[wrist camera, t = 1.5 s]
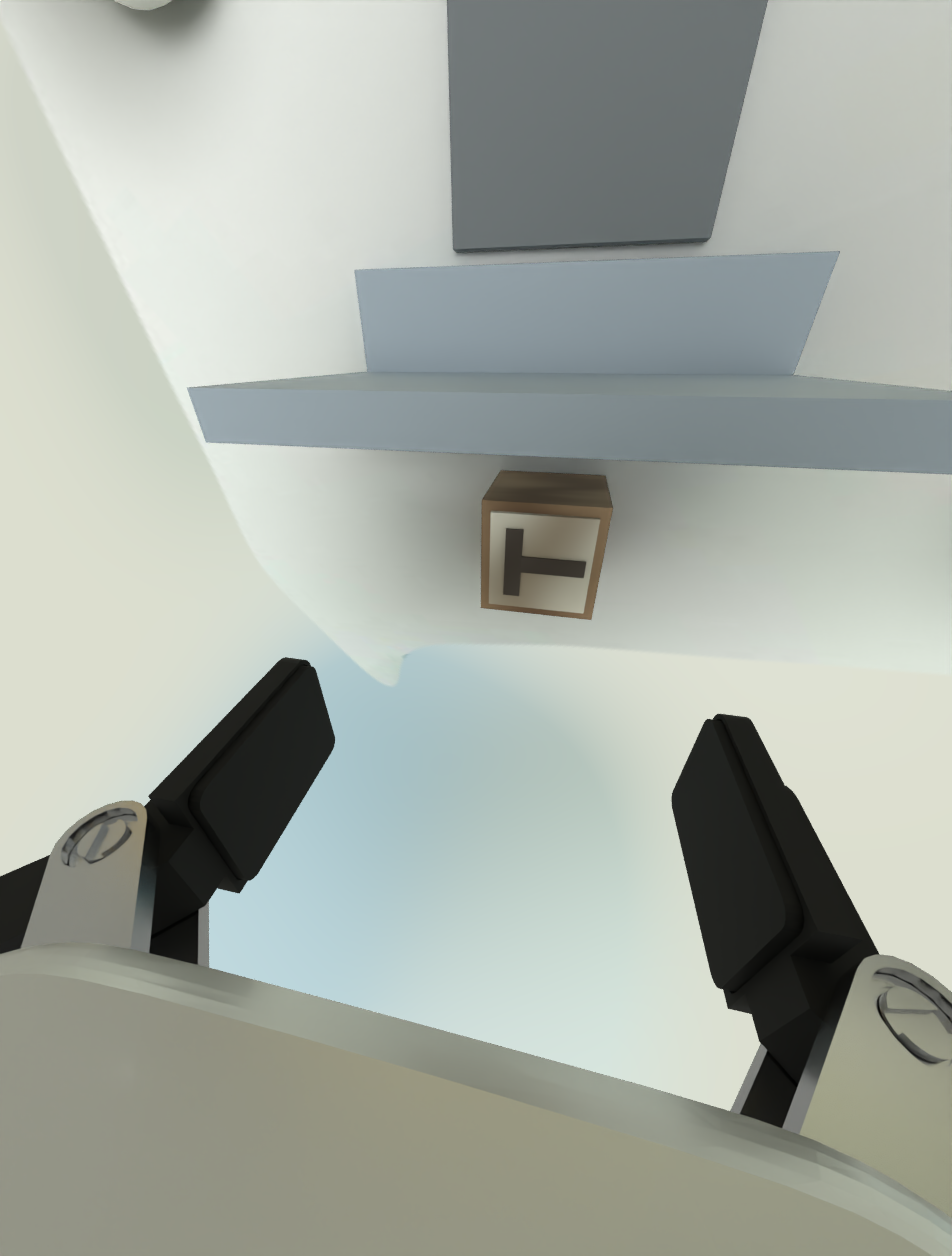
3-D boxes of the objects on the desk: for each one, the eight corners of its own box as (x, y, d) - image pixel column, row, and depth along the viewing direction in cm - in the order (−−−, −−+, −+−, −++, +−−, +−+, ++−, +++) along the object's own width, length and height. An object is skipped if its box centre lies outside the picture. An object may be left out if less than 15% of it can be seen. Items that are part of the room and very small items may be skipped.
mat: (837, -312, 9) (852, -350, 8) (706, 241, 14) (710, 237, 14) (447, -215, 10) (441, -244, 10) (456, 252, 16) (452, 249, 15)
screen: (827, 256, 14) (1295, 74, 5) (771, 409, 16) (1004, 476, 7) (363, 273, 16) (114, 179, 8) (378, 401, 19) (205, 442, 10)
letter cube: (605, 475, 19) (613, 510, 15) (588, 570, 22) (591, 623, 18) (501, 470, 20) (480, 502, 16) (497, 562, 23) (479, 611, 18)
